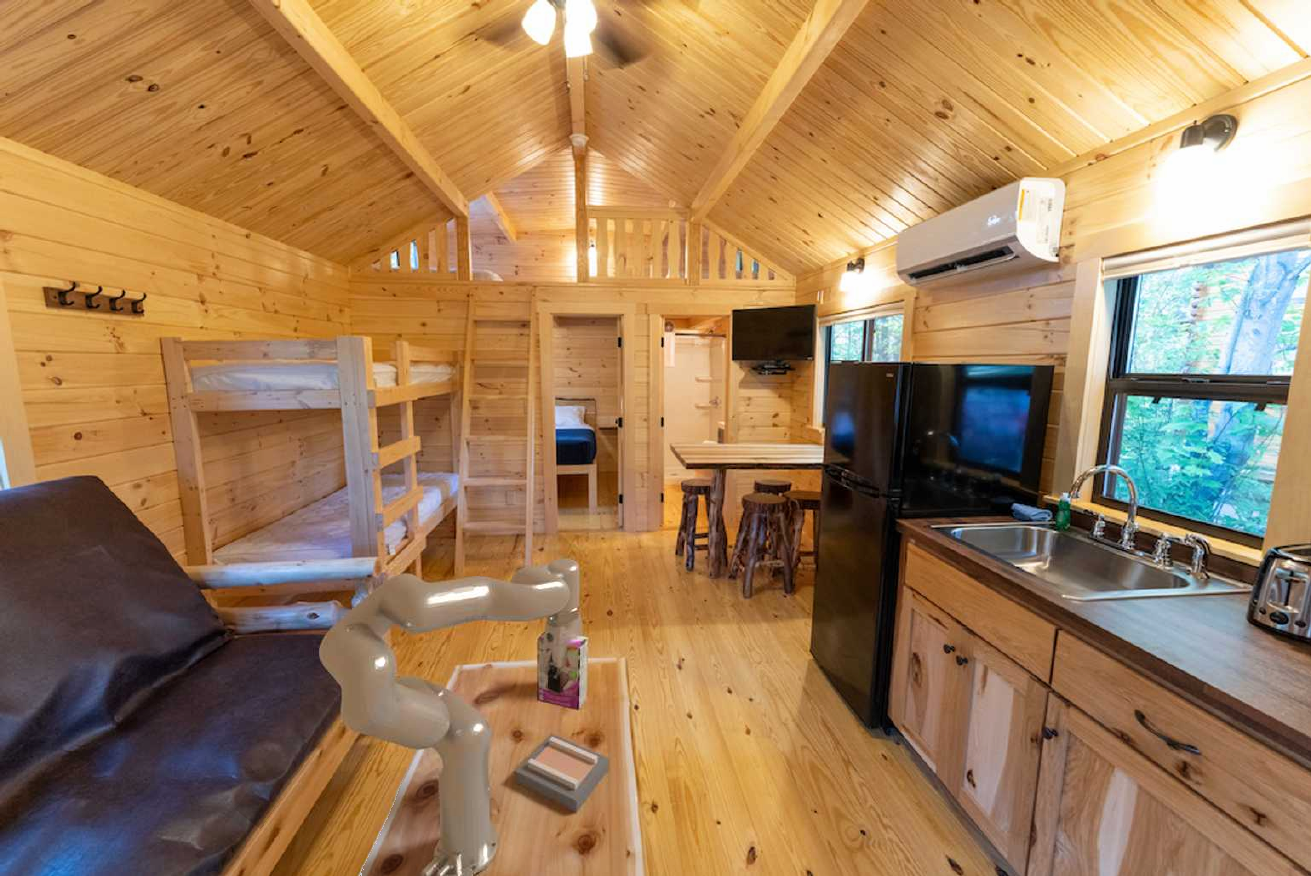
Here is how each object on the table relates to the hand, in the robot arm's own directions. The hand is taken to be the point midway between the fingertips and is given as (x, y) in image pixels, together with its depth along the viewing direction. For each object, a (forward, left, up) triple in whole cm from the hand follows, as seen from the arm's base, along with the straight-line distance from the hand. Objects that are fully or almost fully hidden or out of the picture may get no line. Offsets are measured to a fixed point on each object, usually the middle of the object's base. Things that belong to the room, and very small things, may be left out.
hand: (562, 682), depth 121 cm
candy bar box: (0, 0, -5) cm, 5 cm away
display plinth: (0, 0, -25) cm, 25 cm away
